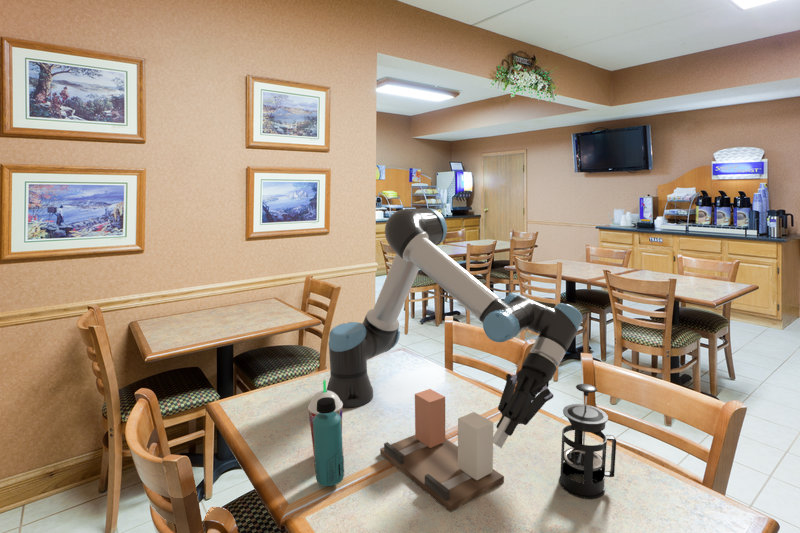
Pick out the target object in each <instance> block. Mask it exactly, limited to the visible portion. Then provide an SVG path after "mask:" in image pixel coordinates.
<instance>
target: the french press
mask: <svg viewBox="0 0 800 533" xmlns="http://www.w3.org/2000/svg"><path fill="white" fill-rule="evenodd" d="M575 388H576V389H577V391H579V392H582V393H583V396H585V397H584V404H583V403H573V404H569V405H566V406H564V408H563V410H562V412H563V415H564V416H565V417H566V419H567V420H568V421H569V423H570V424H569V425H566V426H564V427H563V428H562V430H561V432H562V433H561V452H560V453H561V454H560V476H559V479H558V480H559V485H560V487H561V488H562V489H563V490H564V491H565V492H567V493H568V494H570V495H572V496H574V497H576V498H580V499H585V500H595V499H596V500H597V499H600V498H601V497H602V496H603V495H604V494H605V492H606V486H605V479H606V478H614V477H615V471H616V470H615V469H616V452H617V439H616V437H615V436H614V435H611V434H605V433H604V432H603V431H604V430H605V429H606V423H607V422H608V421H609V416H608V414H607V413H606V412H605V411H604V410H602V409H601V408H599V407H597V406H592V405H589V404H587V403H588V402H587V401H588V397H589V394H590V393H591V394H592V393H596V392H597V391H598V388H597V387H596V386H594V385H592V384H588V383H579V384H577V385H576V386H575ZM570 431H571V432H572V431H574V437H573V438H574V441H573V440H571V439H570V438H568V437H567V436H566V435H565V433H568V432H570ZM586 433H592V434H594V435H596V436H598V437H600V438H601V439H602V443H600V444H594V445H590V444H589V445H588V444H586ZM608 441H611V454H610V456H611V457H610V470H606V462H607V461H606V459H607V445H608V444H607V442H608ZM565 444H566V445H568V446H569V447H570V448H567V449H565ZM600 451H602V453H601V454H602V456H601V455H600V454H598V453H597V452H600ZM572 475H580V476H583V479H582V480H583V481H582V482H579V481H578V480H577V481H576V480H575V479H572V478H570V477H569V476H572ZM605 477H606V478H605ZM593 481H594V483H593Z"/></svg>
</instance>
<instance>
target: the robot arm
mask: <svg viewBox="0 0 800 533" xmlns="http://www.w3.org/2000/svg"><path fill="white" fill-rule="evenodd" d="M447 232H448V225H447V223H446V219H445V217H444V215H443V214H442V213H441V212H439V211H438V210H436V209H435V208H429V207H420V208H404V209H399V210H397V211H395V212H393V213H392V214H391V215H390V216H389V218H388V219H387V220H386V222H385V227H384V235H385V239H386V242H387V243H388V245H389V246H390V248H391V249H392V250H393V251H394V253H395V256H394V257H393V260H392V263H391V266H390V268H389V271H388V272H387V275H386V278H385V280H384V282H383V285H382V288H381V290H380V293H379V294H378V298H377V300H376V301H375V303H374V307H373V308H372V309H369V310H368V311H367V312H366V315H365V317H364V320H363V322H358V321H357V322H356V321H348V322H347V323H346V322H345V323H341V324H338V325H336V326H334V327H333V328H332V329H331V330H330V331H329V335H328V350H329V352H328V353H329V366H330V367H329V371H330V376H329V380H328V383H327V385H326V390H329V391H332V392H334V393H335V394H337V395H338V397H339V398H340V400H341V401H342V403H343V409H347V408H351V409H352V408H357V407H361V406H364V405H366V404H368V403H369V402H371V401H372V400H373V398H374V388H373V386H372V383H371V381H370V378H369V374H368V363H367V362H368V360H370V359H373V358H374V357H376V356H379V355H381V354H384V353H387V352H389V351H391V350H392V349H393V348H394V347H395V346H396V345H397V344H398V343H399V340H400V336H401V332H400V330H399V329H400V327H399V326H400V322H399V320H398V319H399V316H400V314H401V311H402V309H403V307H404V304H405V303H406V299H407V298H408V295H409V293H410V291H411V289H412V287H413V285H414V282H415V280H416V277H417V275H418V273H419V271H422V272H423V273H424V274H425V275H426V276H428V277H429V278H430V279H431V280H432V281H433V282H435V283H436V284H437V285H438V286H439V287H441V288H442V289H443V290H444V291H445V292H446V293H447V294H449V296H450V297H452V298H453V299H454V300H455V301H457V302H458V303H459V304H460V305H461V306H462V307H463V308H465V309H466V310H467V311H469V312H470V313H471V314H472V315H473V316H474V317H475V318H476V319H478V320H479V321H480V322H481V323H482V328H483V332H484V334H485V336H486V337H487V338H488V339H489V340H491V341H492V342H495V343H505V342H507V341H510V340H512V339H514V338H515V337H516V336H517V335H519V334H520V333H521V332H524V331H525V330H526V329H527V330H529V331H532V332H534V333H535V334H539V335H538V336H537V338H536V340H535V342H534V343H533V344H532V346H531V348H530V351H529V353H528V354H527V356H526V358H525V359H524V361H523V362H522V367H521V369H520V370H519V371H517V373H516V374H510V373H507V374H506V376H505V381H506V383H505V386H504V389H503V391H502V394H501V397H500V399H499V400H500V401H499V403H498V407H497V409H498V411H499V412H500V413H501V417H500V419H499V421H498V422H497V424H496V431H495V433H494V434H493V445H494V446H496V447H498V448H500V449H503V446H504V445H505V443H506V441H507V439H508V437H509V436H510V437H511V436H512V435H514V434H513V433H514V432H515V430H516V429H517V426H518V425H523V426H526V425H528V424H529V422H531V420H532V419H533V418H534V417H535V416H536V415H537V413H538V412H539V411H540V410H541V409H542V408H543V407H544V405H545V404H546V402H548V401H550V400H552V399H553V398H554V394H553V393H552V392H551V391H550V389H549V385H550V384H549V382H550V381H552V379H553V377H554V376H555V373H556V371H557V367H559V366H560V364H561V362H562V361H563V358H564V357H565V355H566V353H567V351H568V349H569V347H570V346H571V344H572V342H573V340H574V339H575V336H576V334H578V331H579V328H580V327H581V325H582V323H583V321H584V319H583V318H584V317H583V314H582V313H581V312H580V310H579V309H578V308H576V307H575V306H573V305H571V304H568V303H563V302H559V303H557V304H556V305H555V306H554V307H550V306H547V305H545V304H543V303H541V302H538V301H536V300H535V299H532V298H529V297H527V296H526V295H524V294H519V293H516V292H515V291H514V292H513V291H512V292H509V293H508V294H507V295H506V296H505V297H504V299H503V300H502V299H501V298H500V297H499V296H498V295H497V294H496V293H494V292H493V291H491V289H489V288H488V287H487V286H486V285H485V284H483V283H482V282H481V281H480V280H478V279H477V278H476V277H475V276H474V275H472V274H471V273H470V272H469V271H468V270H466V269H465V268H464V267H462V266H461V265H460V264H459V263H458V262H456V261H455V260H454V259H453V258H452V257H450V256H449V255H448V254H447V253H445V252H444V251H443V250H442V249H440V247H438V245H440V244H442V243H443V242H444V241H445V239H446V237H447Z"/></svg>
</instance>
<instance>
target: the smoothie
mask: <svg viewBox="0 0 800 533" xmlns="http://www.w3.org/2000/svg"><path fill="white" fill-rule="evenodd" d="M322 382H323V383H322V388H323V390H321V391H318V392H317V393H315V394H314V395H313V397H312V398H311V400H310V402H309V404H308V406H307V408H308V409H307V410H308V416H309V417H308V418H309V426H310V435H311V443H312V452H313V456H314V457H315V454H314V447H313V446H314V433H313V419H314V417H315V416H316V415H317V414H319V412H317V401H318V400H319V399H321V398H324V397H330V398H333V399H334V400H335V405H336V409H335V410H334V412H336V413H337V414H339V415H340V416H341V430H342V431H343V409H344V408H343V403H342V401H341V400H340V398H339V397H338V395H337V394H335V393H334V392H332V391H329V390H327V383H326V382H327V380H326V379H325V380H324V379H323V380H322Z"/></svg>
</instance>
